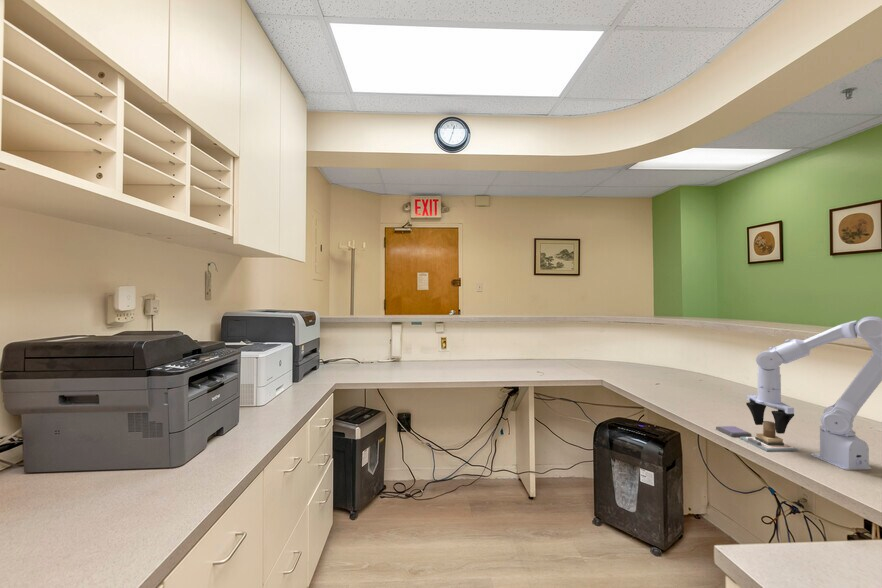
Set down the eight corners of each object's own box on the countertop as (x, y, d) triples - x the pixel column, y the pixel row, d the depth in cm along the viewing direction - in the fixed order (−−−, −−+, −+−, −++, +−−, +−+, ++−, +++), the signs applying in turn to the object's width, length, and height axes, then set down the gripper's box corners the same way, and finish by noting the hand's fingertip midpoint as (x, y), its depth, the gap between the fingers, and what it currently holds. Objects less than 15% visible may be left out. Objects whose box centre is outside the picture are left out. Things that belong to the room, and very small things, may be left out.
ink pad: (751, 436, 127) (751, 433, 127) (731, 436, 127) (731, 433, 127) (734, 429, 134) (734, 425, 134) (716, 429, 134) (716, 426, 134)
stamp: (784, 445, 118) (784, 425, 118) (768, 445, 118) (768, 425, 118) (770, 439, 123) (770, 419, 123) (755, 439, 123) (755, 419, 123)
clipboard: (797, 450, 116) (797, 446, 116) (766, 451, 116) (766, 446, 116) (768, 438, 126) (768, 434, 126) (739, 438, 126) (739, 434, 126)
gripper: (738, 382, 128) (738, 421, 128) (778, 393, 113) (778, 437, 113) (758, 382, 128) (758, 420, 128) (800, 393, 113) (800, 437, 113)
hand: (769, 428), depth 121 cm, fingers open, 7 cm apart
